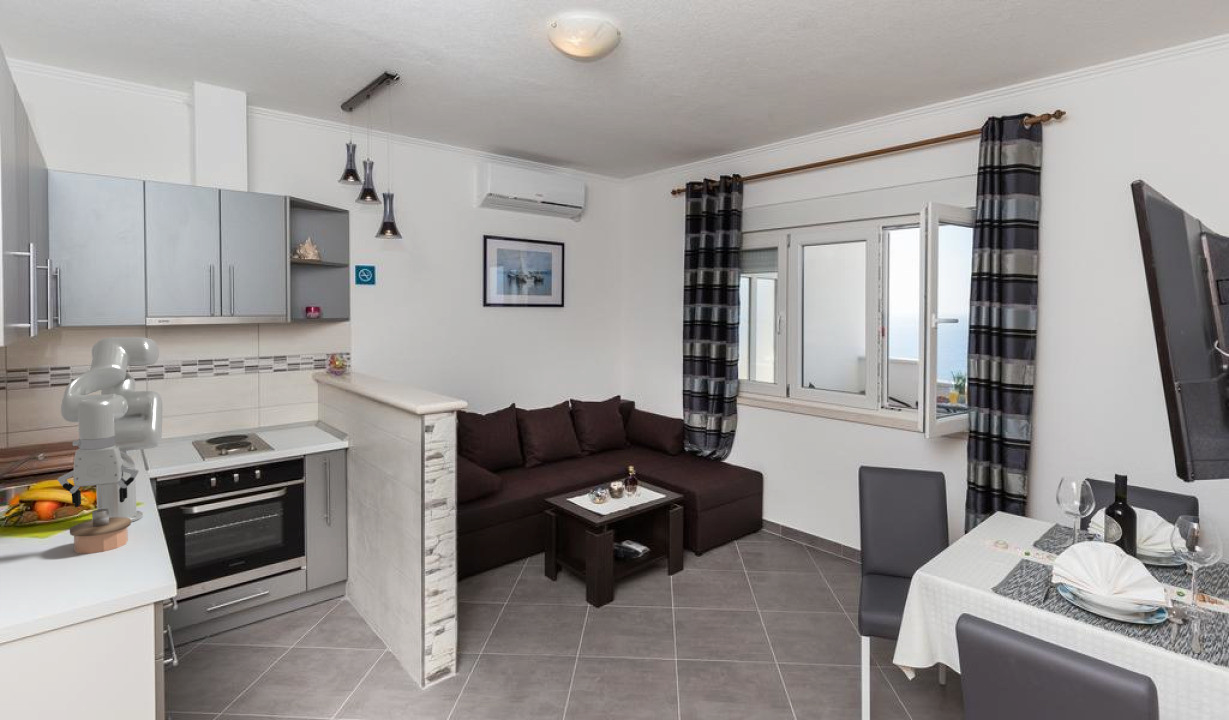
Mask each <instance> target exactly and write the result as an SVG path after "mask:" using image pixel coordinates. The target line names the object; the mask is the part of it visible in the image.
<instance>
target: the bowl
mask: <svg viewBox="0 0 1229 720" xmlns="http://www.w3.org/2000/svg"><path fill="white" fill-rule="evenodd" d="M128 533H129V532H128V527H127V528H124V529H122V530H119V531H115V532H112V533H107V534H102V535H95V536H73V542H74V543H73V545H74V552H76V553H77V554H95V553H103V552H107V551H112V550H114V549H118V548H120V547H123V546H124V545H126V544H127V542H129V539H128V538H129V537H128V536H129V535H128Z"/></svg>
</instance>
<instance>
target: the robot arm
mask: <svg viewBox="0 0 1229 720" xmlns="http://www.w3.org/2000/svg"><path fill="white" fill-rule="evenodd" d="M159 355H160V349H159V346H158V344H157V342H156V341H155V340H154V339H151V338H148V337H142V336H119V337H118V336H111V337H103V338H102V339H100V340H98V341H97V342H95V343H94V344H93V345H92V348H91V358H92V359H91V364H90V367H89V368H90V369H88V370H87V371H86V372H83V373H81V374H80V375H78V376H77V377H76V378H74V379H72V380H71V381H70V382H69V383H68V385H67V386H66V388H65V389H64V393H63V396H62V401H61V405H60V413H61V416H62V418H63V420H65V421H67V422H70V423H78V435H79V436H78V439H76V440H73V441H72V446H74V447H75V446H76V447H78V449H76V450H75V453H74V459H73V460H74V461H73V470H71V471H69V472H67V473H65V474H63V475H61V476H59V477H58V478H57V481H58V483H59V484H60V485H61V486H62V488H63V489H65V490H66V491H68V492H69V493H70V494H71V503H72V505H74V508H78V507H80V505H82V492H81V489H79V488H81V487H92V486H94V487H95V486H96V506H97V507H96V510H99V509H109V518H113V517H124V518H129V519H131V523H132V522H135V521H138V520H140V519H142V518H143V516H144V513H143V511H140V510H137V494H136V493H137V486H136V484H137V483H136V477H137V476H138V474H139V470H138V469H136V465H135V462H134V460H133V458H131V456H129V455H128V454H127V453H126V451H133V450H136V451H138V450H147V449H148V450H149V449H155V448H156V447H159V445H160V443H161V441H162V436H163V435H162V434H163V433H162V432H163V400H162V396H161V395H160V394H159V392H156V391H154V390H136V380H135V378H134V377H133V376H132V375H131V374H130V373H129V372H127V370H128V366H152V365H154V364H156V363H157V362H158V359H159ZM98 391H100V392H101V393H100V394H92V393H96V392H98ZM72 477H73V478H72ZM70 478H72V479H73V484H74V485H73V484H72V483H70V482H69V481H68V479H70ZM92 520H93V519H91V520H90V521H92Z"/></svg>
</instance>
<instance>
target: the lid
mask: <svg viewBox="0 0 1229 720" xmlns="http://www.w3.org/2000/svg"><path fill="white" fill-rule="evenodd" d="M91 513H92V517H91V518H92V519H93V520H92V519H91V520H92V521H91V520H88V521H85V522H82V523H79V524H76V525H74V526H72V527H70V529H69V535H71V536H72V537H74V536H95V535H102V534H107V533H112V532H115V531H119V530H122V529H124V528H127V529H128V528H129V526H131V525H132V522H131V519H129V518H124V517H113V518H109V509H99V510H97V509H95V510H92V511H91Z"/></svg>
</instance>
